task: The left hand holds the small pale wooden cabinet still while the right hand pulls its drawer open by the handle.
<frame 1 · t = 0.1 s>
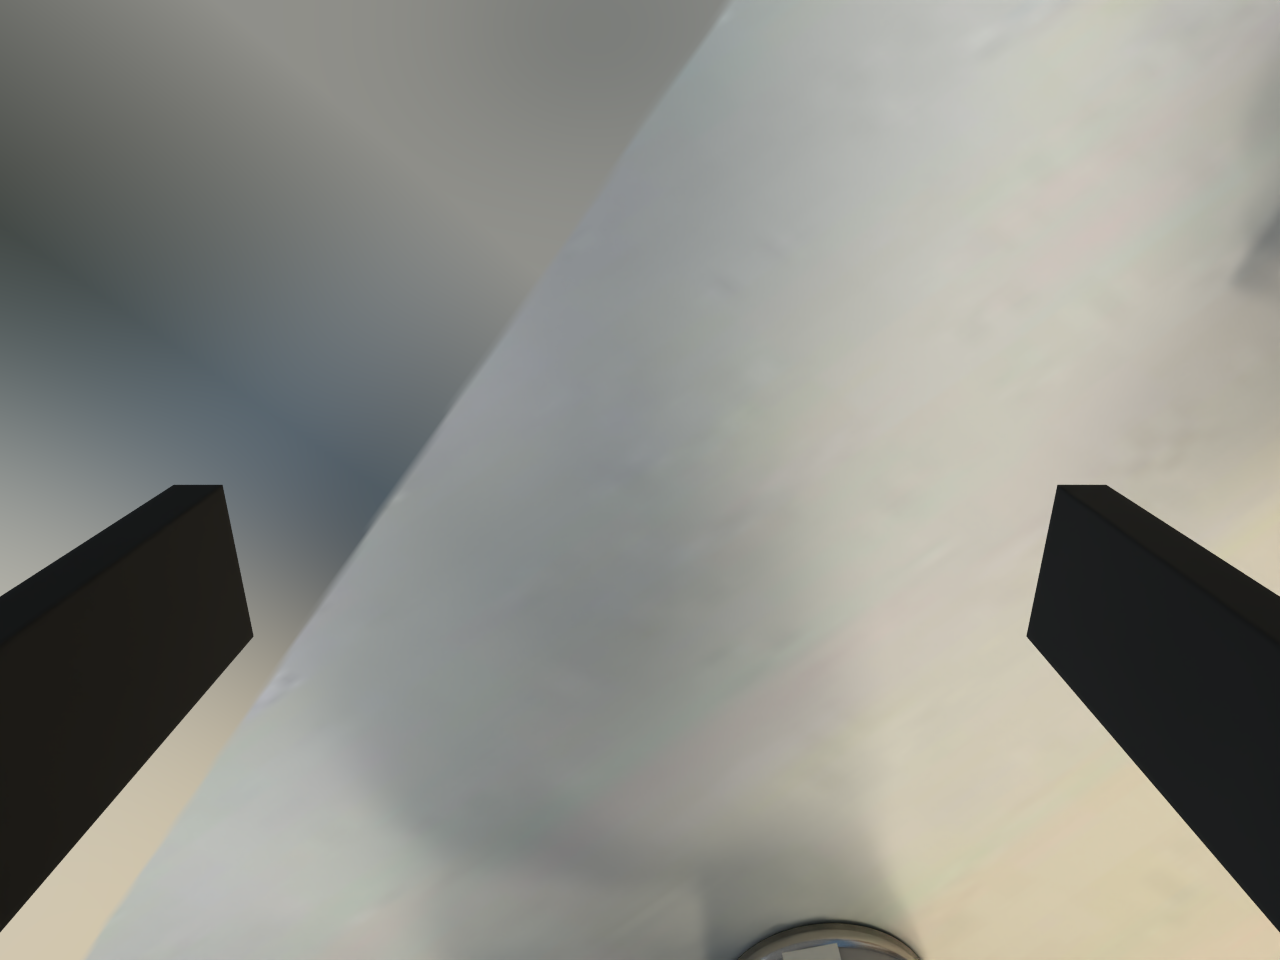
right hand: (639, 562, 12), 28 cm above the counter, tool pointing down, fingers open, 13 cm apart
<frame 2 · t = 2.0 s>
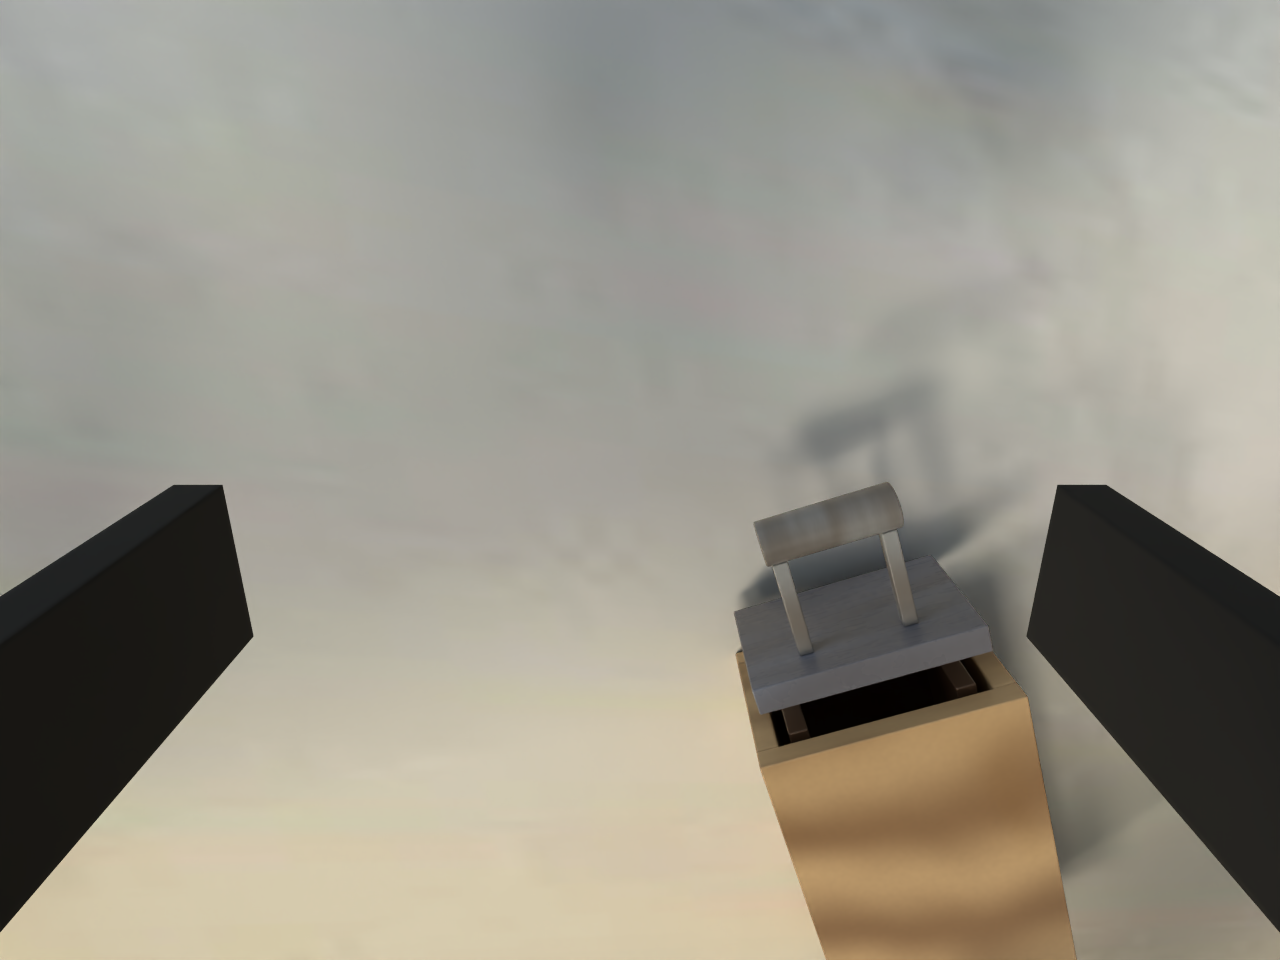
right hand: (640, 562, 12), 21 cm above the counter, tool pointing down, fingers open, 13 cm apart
cabinet: (884, 782, 40), on the counter
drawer: (880, 737, 34), point 4 cm above the counter, slide at 1.6 cm
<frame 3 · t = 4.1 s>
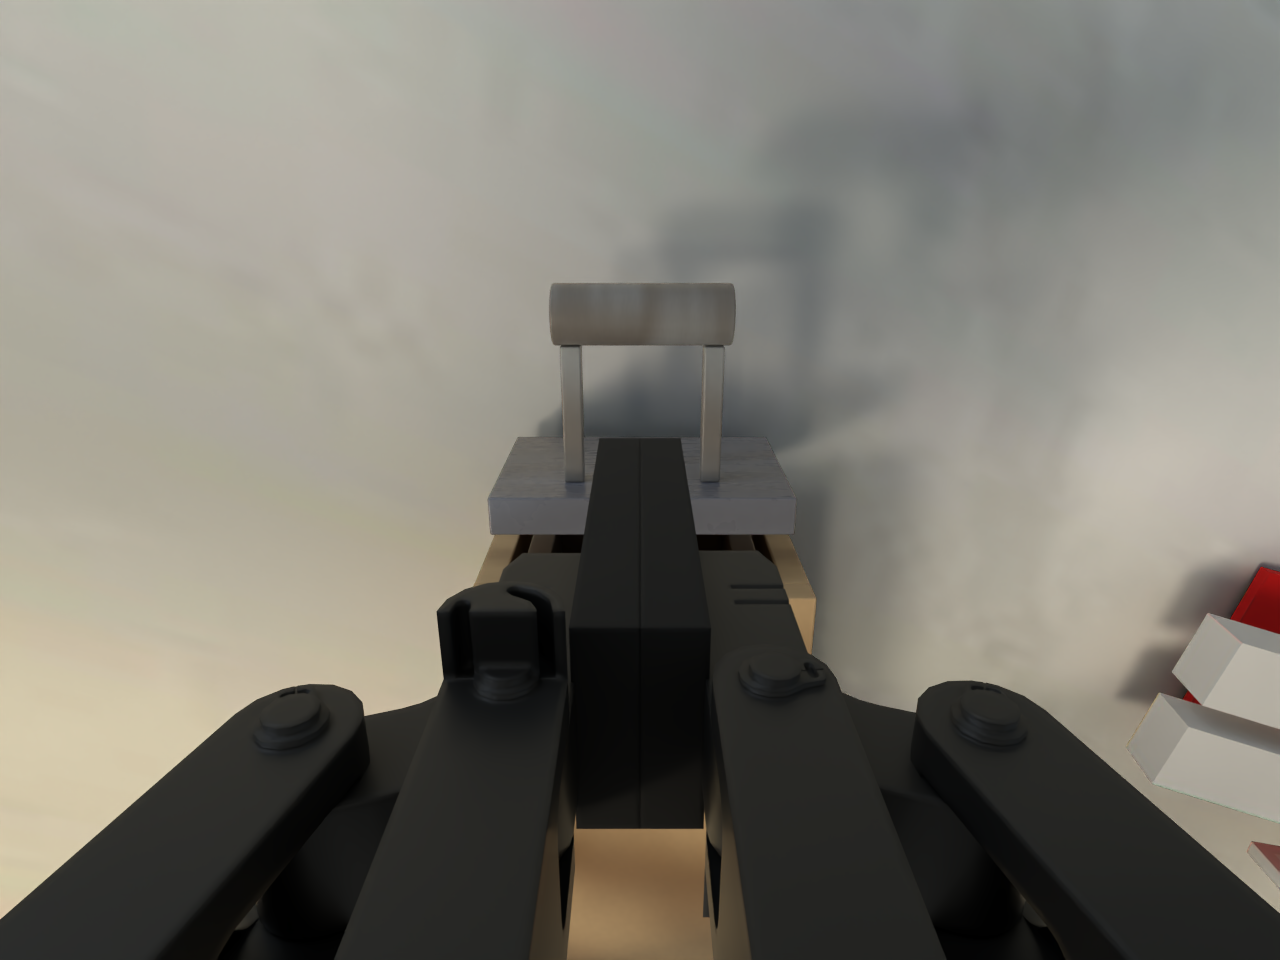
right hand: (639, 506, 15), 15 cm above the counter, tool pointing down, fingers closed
cabinet: (641, 710, 34), on the counter, touching left hand
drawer: (641, 632, 28), point 4 cm above the counter, slide at 1.6 cm
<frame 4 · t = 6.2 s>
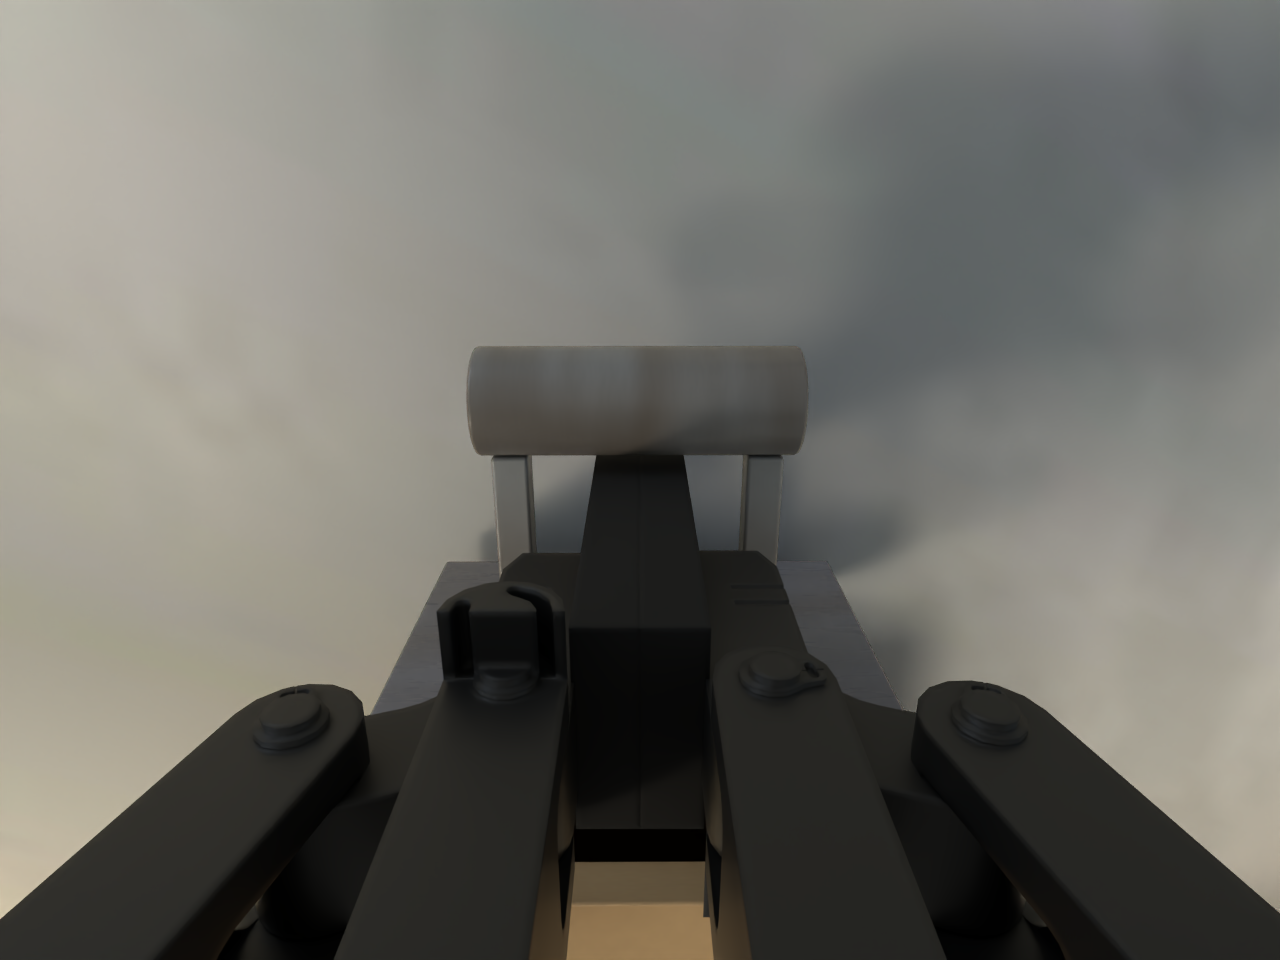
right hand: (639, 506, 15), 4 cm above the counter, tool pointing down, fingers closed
cabinet: (637, 922, 24), on the counter, touching left hand
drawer: (637, 866, 18), point 4 cm above the counter, slide at 1.8 cm, touching right hand
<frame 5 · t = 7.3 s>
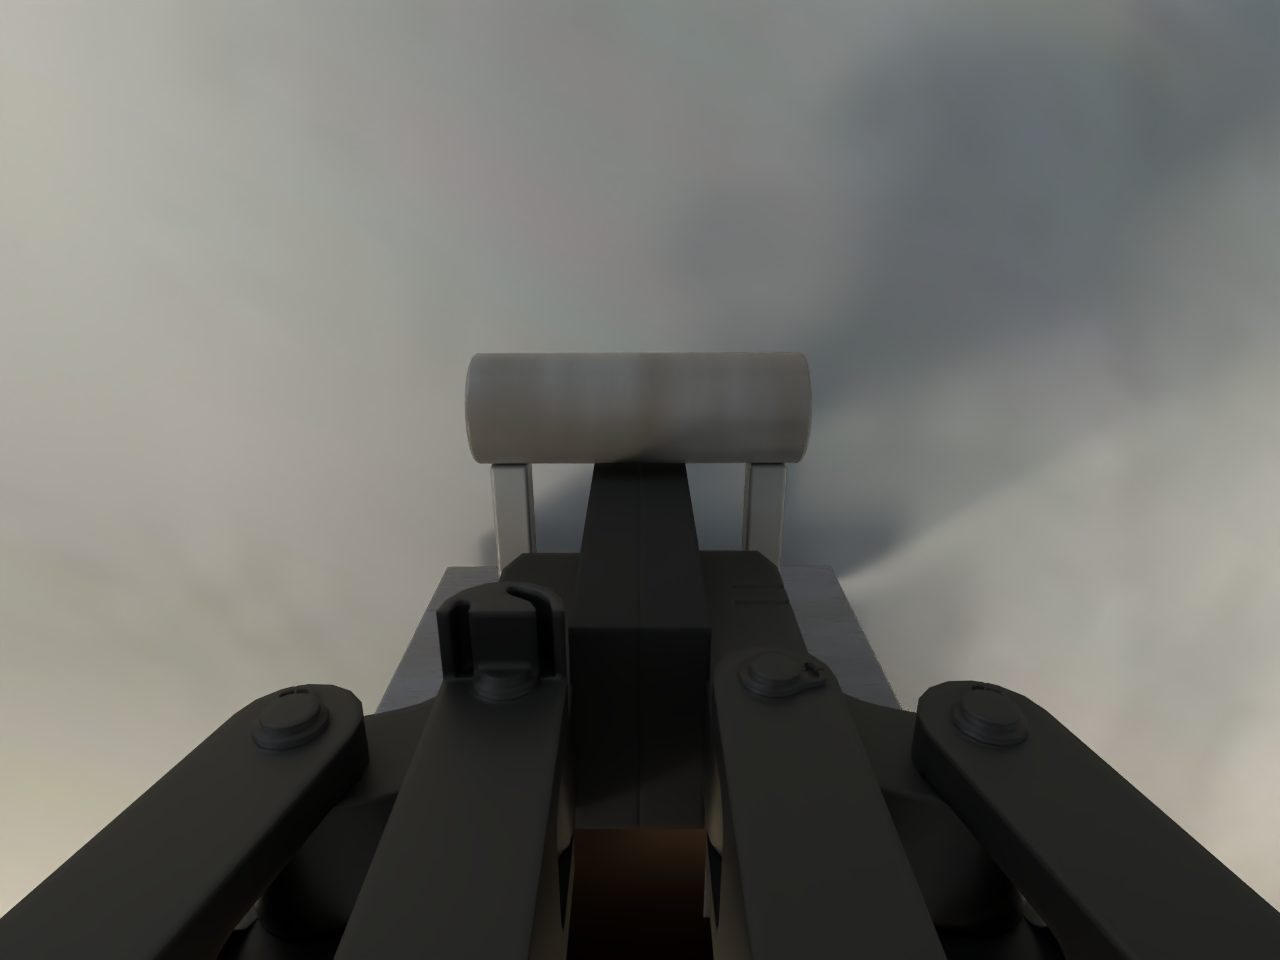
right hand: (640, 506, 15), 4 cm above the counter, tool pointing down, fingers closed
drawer: (639, 873, 18), point 4 cm above the counter, slide at 7.5 cm, touching right hand
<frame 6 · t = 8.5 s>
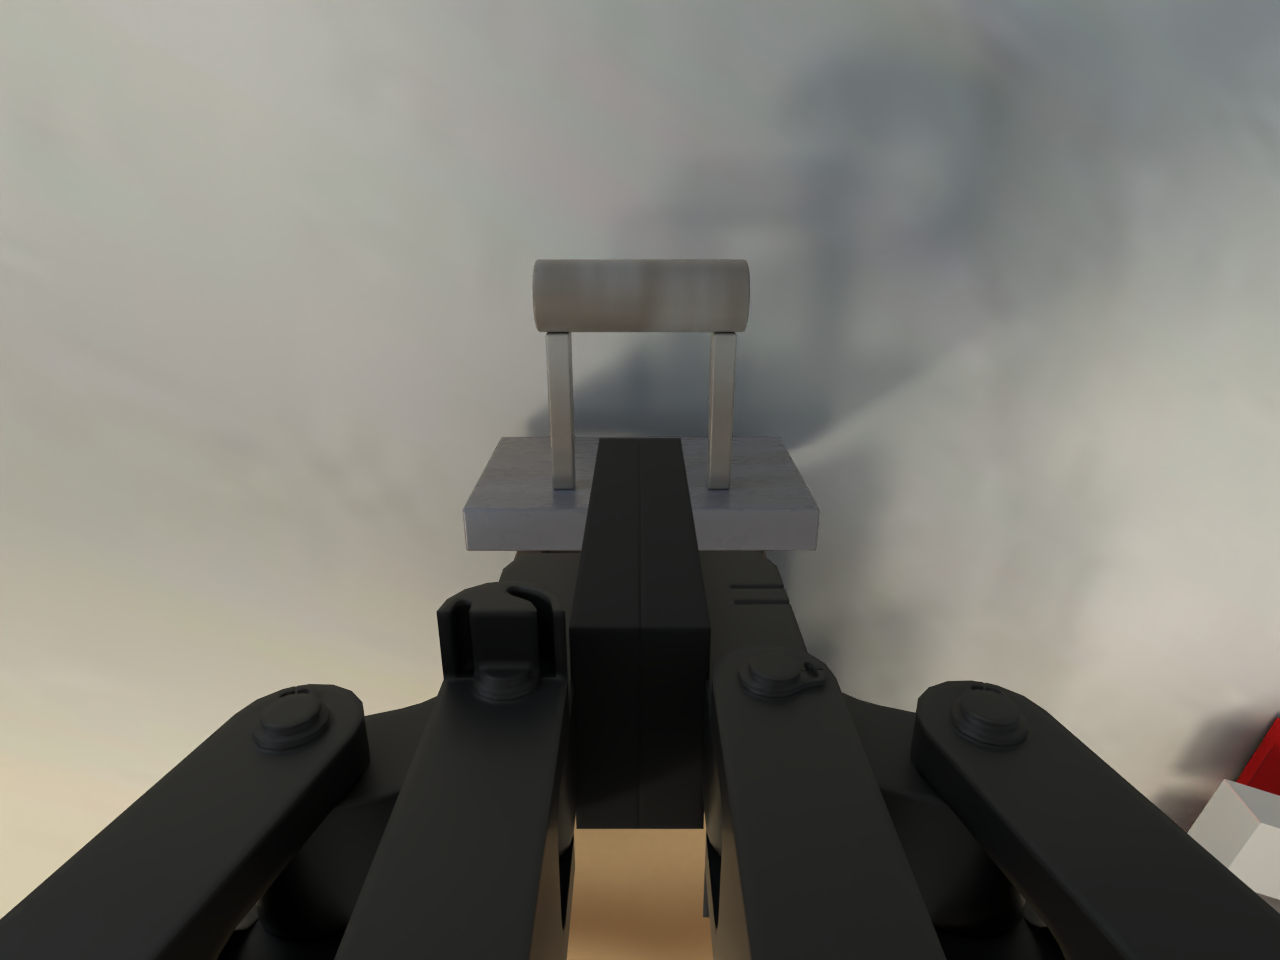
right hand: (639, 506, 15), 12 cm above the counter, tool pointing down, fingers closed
cabinet: (640, 851, 33), on the counter, touching left hand
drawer: (640, 656, 25), point 4 cm above the counter, slide at 7.6 cm
when the left hand's fingers open (3 cm above the counter, at t = 9.0 s): cabinet stays where it is, on the counter.
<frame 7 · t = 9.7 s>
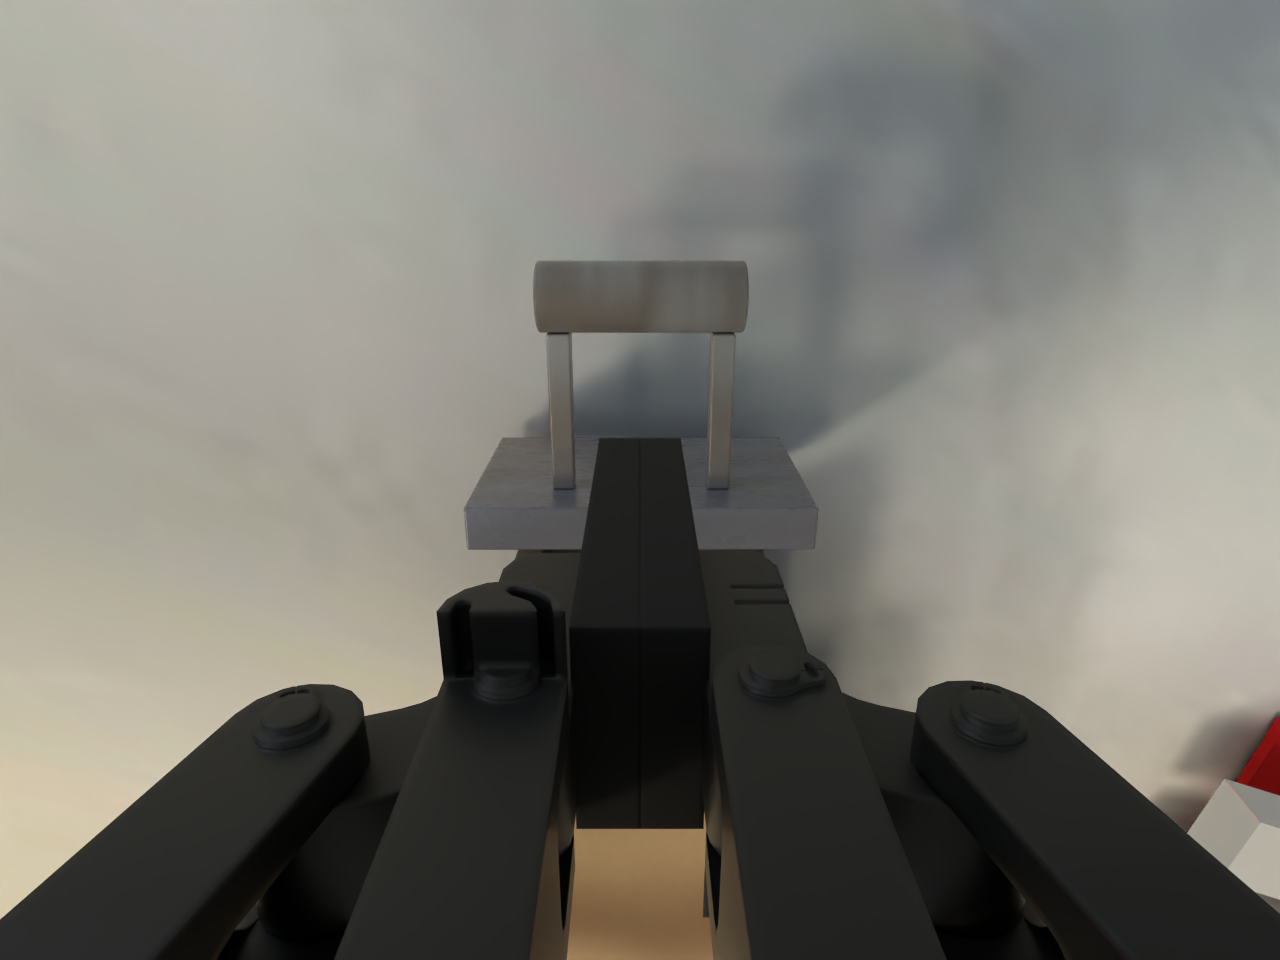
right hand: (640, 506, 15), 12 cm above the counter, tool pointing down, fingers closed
cabinet: (640, 851, 33), on the counter
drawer: (640, 655, 25), point 4 cm above the counter, slide at 7.6 cm
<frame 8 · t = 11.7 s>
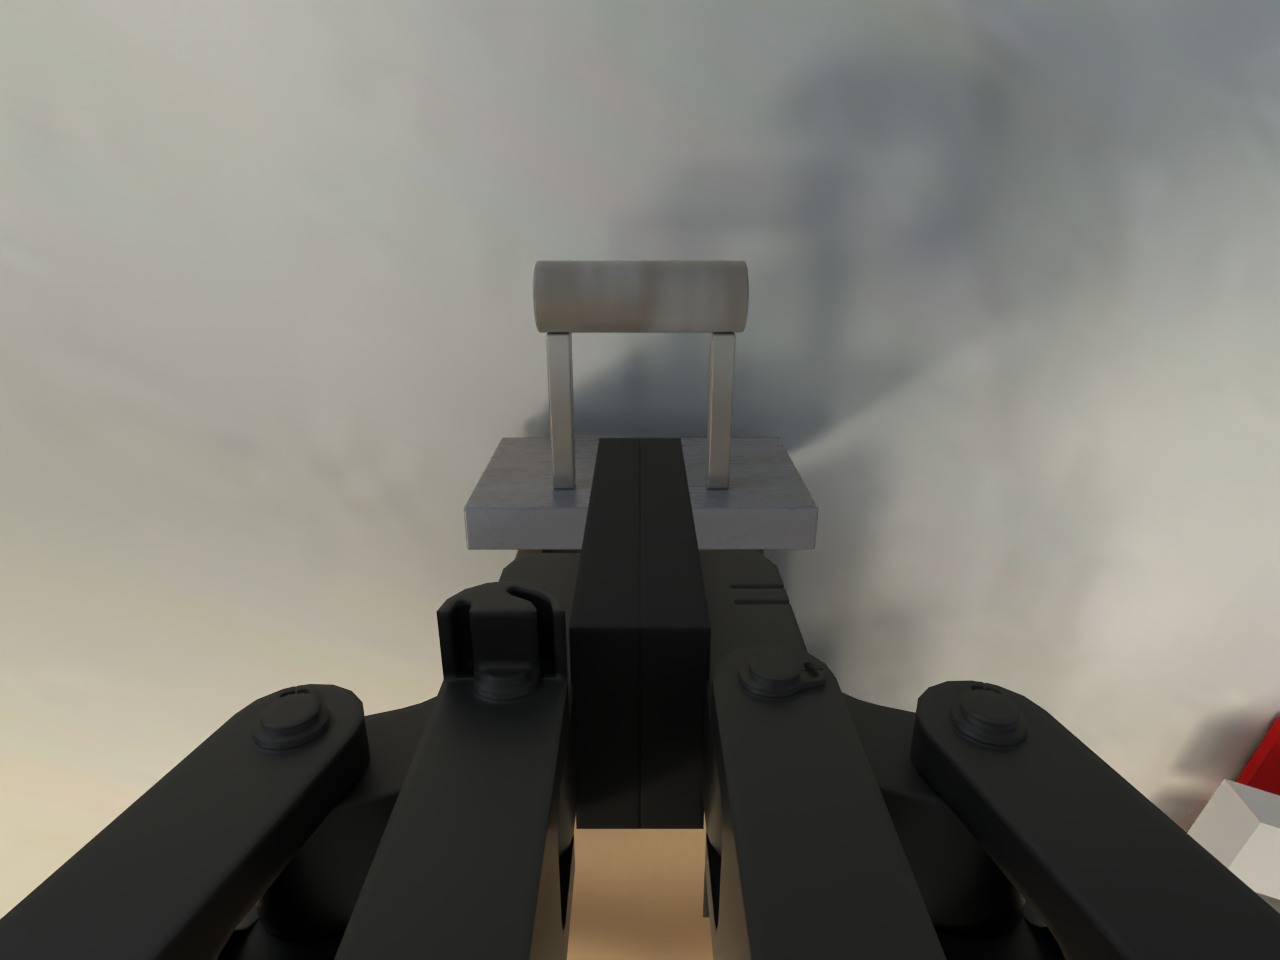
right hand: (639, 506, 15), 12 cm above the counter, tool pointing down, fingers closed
cabinet: (640, 851, 33), on the counter
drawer: (640, 655, 25), point 4 cm above the counter, slide at 7.6 cm
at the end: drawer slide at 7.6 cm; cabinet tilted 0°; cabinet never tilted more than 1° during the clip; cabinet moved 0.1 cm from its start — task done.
